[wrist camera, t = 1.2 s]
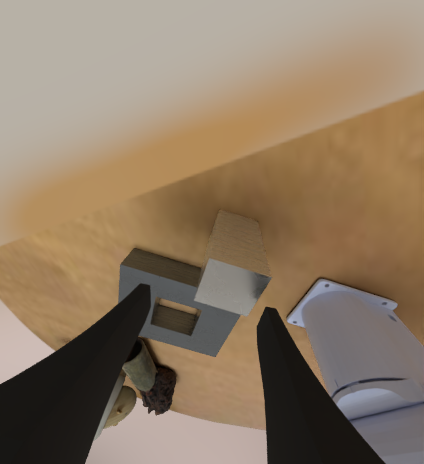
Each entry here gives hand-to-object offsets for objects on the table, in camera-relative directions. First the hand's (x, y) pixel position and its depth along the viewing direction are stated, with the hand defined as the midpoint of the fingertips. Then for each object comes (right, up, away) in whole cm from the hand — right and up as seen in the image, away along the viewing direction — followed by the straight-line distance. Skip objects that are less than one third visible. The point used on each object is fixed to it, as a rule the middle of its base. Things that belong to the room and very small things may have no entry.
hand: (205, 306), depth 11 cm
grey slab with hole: (-4, -4, +13) cm, 14 cm away
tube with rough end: (-10, -20, +24) cm, 33 cm away
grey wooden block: (+3, +5, +8) cm, 9 cm away
